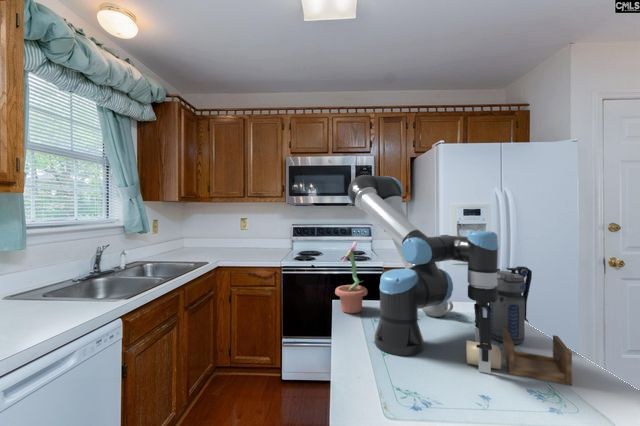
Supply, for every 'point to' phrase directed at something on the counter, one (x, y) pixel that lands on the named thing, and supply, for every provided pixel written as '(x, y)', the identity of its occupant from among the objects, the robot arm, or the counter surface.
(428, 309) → the teacup
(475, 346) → the cylinder
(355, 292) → the decorative flower
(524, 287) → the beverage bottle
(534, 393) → the counter surface
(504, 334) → the holder
